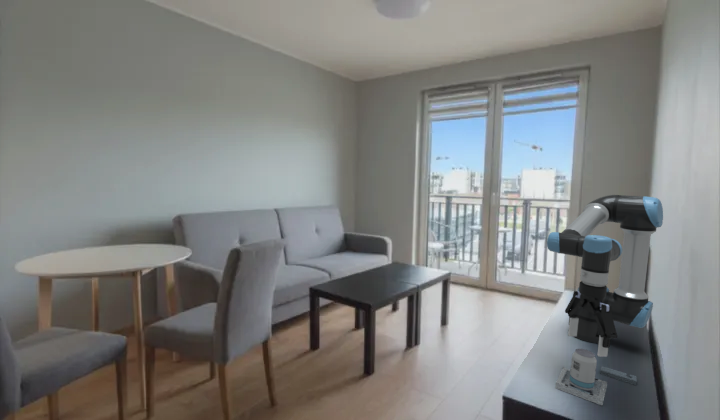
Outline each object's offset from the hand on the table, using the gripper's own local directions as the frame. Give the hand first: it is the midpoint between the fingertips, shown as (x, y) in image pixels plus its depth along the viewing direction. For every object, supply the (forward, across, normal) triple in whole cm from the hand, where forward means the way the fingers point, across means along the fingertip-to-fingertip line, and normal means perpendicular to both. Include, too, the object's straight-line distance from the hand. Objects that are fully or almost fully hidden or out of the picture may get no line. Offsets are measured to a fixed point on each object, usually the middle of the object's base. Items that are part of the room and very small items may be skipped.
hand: (586, 345), depth 117 cm
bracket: (+16, -6, +18) cm, 25 cm away
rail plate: (+15, 0, -1) cm, 15 cm away
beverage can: (+15, 0, 0) cm, 15 cm away
